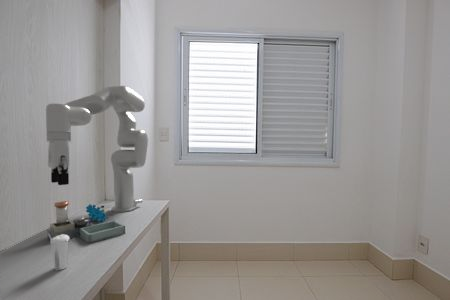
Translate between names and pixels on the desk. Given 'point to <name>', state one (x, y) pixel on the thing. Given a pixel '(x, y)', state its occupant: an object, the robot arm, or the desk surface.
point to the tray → (102, 231)
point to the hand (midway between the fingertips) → (59, 183)
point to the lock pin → (61, 213)
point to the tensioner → (69, 228)
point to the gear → (96, 213)
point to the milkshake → (60, 251)
